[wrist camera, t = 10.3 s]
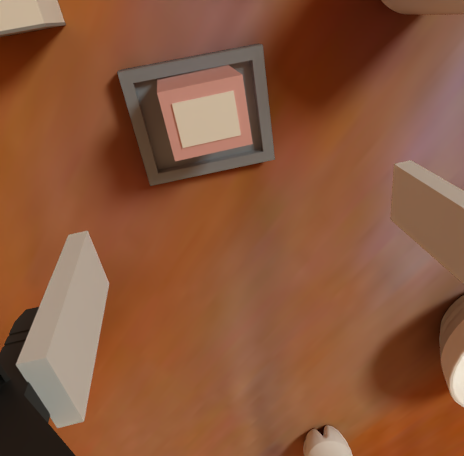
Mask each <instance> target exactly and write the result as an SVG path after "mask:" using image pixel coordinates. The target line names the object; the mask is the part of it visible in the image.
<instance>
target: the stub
mask: <svg viewBox="0 0 464 456" xmlns="http://www.w3.org/2000/svg"><path fill="white" fill-rule="evenodd" d="M157 95H158V99H159V102H160V106H161V110H162V114H163V118H164V121H165V125H166V129H167V133H168V137H169V141H170V144H171V148H172V152H173V156H174V160H175V161H179V160H184V159H188V158H193V157H197V156H202V155H206V154H211V153H215V152H220V151H224V150H228V149H233V148H237V147H242V146H246V145H251V144H253V142H252V135H251V129H250V122H249V115H248V109H247V102H246V95H245V89H244V82H243V75H242V74H241V73H239V72H238V71H236V70H235V69H233V68H232V67H231V66H229V65H224V66H219V67H214V68H209V69H204V70H198V71H193V72H188V73H183V74H178V75H173V76H168V77H162V78H158V79H157Z"/></svg>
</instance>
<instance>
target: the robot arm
mask: <svg viewBox="0 0 464 456" xmlns="http://www.w3.org/2000/svg"><path fill="white" fill-rule="evenodd" d="M390 219H391V220H392V221H393V222H394V223H395V224H396V225H397V226H398V227H400V228H401V229H402V230H403V231H404V232H405V233H406V234H408V235H409V236H410V237H411V238H412V239H413V240H414V241H415V242H417V243H418V244H419V245H420V246H421V247H422V248H423V249H424V250H426V251H427V252H428V253H429V254H430V255H431V256H432V257H434V258H435V259H436V260H437V261H438V262H439V263H440V264H441V265H443V266H444V267H445V268H446V269H447V270H448V271H449V272H450V273H452V274H453V275H454V276H455V277H456V278H457V279H458V280H460V281H461V282H462V283H463V284H464V191H463V190H461V189H460V188H458V187H456V186H454V185H453V184H451V183H449V182H448V181H446V180H444V179H442V178H441V177H439V176H437V175H435V174H434V173H432V172H430V171H428V170H427V169H425V168H423V167H422V166H420V165H418V164H416V163H415V162H413V161H411V160H410V161H405V162H401V163H396V164H394V171H393V187H392V203H391V218H390ZM108 287H109V282H108V279H107V277H106V274H105V272H104V270H103V267H102V265H101V262H100V260H99V257H98V255H97V252H96V250H95V248H94V245H93V243H92V240H91V238H90V235H89V233H88V231H84V232H79V233H75V234H70V235H68V238H67V240H66V243H65V245H64V247H63V250H62V252H61V255H60V257H59V260H58V262H57V265H56V267H55V270H54V272H53V274H52V277H51V279H50V282H49V284H48V287H47V289H46V292H45V294H44V296H43V299H42V301H41V304H40V306H39V307H36V308H32V309H27V310H25V311H24V312H23V314H22V315H21V316H20V317H19V318H18V319H17V320H16V321H15V323H14V325H13V327H12V329H11V331H10V333H9V336H8V337H7V340H6V342H5V346H4V347H3V348H2V350H1V352H0V456H75V455H74V453H73V452H72V451H71V450H70V449H69V447H68V446H67V445H66V444H65V443H64V442H63V440H62V439H61V438H60V437H59V436H58V435H57V433H56V432H55V431H54V430H53V429H52V427H51V426H50V425H49V424H48V421H49V417H51V419H52V420H53V422H54V423H55V425H56V426H57V428H60V427H64V426H68V425H72V424H76V423H80V422H84V418H85V413H86V407H87V402H88V396H89V391H90V385H91V380H92V375H93V369H94V364H95V358H96V353H97V347H98V342H99V336H100V331H101V325H102V320H103V315H104V309H105V304H106V298H107V293H108Z"/></svg>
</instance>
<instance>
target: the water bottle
mask: <svg viewBox="0 0 464 456" xmlns="http://www.w3.org/2000/svg"><path fill="white" fill-rule="evenodd" d="M303 452H304V456H352V452H351V450H350V447H349V445H348V443H347V441H346V440H345V439H344V437H343V436H342V435H341V433H340V432H339V431H338V430H337V429H335V428H334V427H333V426H329V425H326V426H325V427H324V433H323V436H322V435H321V434H320V433H319V432H318V430H317V429H312V430H310V431H309V432H308V434H307V436H306V440H305V441H304V445H303Z"/></svg>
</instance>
